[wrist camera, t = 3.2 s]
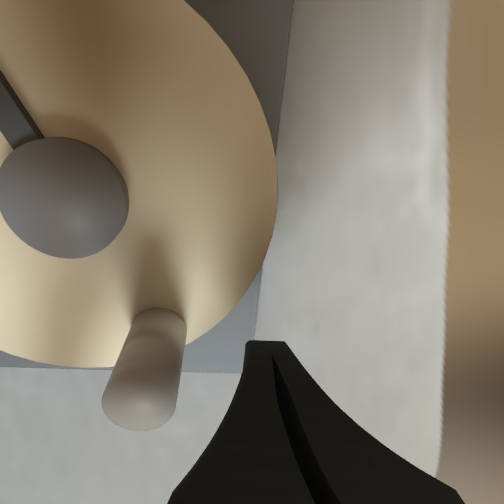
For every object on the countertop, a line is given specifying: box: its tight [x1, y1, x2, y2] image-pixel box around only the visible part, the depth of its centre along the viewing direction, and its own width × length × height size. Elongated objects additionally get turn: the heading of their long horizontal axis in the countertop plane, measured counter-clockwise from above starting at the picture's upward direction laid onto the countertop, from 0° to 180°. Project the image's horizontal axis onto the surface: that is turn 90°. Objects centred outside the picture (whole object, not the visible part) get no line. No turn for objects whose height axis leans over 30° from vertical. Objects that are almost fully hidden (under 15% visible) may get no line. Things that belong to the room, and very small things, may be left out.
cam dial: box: [0, 0, 278, 431], centre depth 10 cm, size 13×13×5 cm
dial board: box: [0, 0, 294, 374], centre depth 13 cm, size 14×16×3 cm
